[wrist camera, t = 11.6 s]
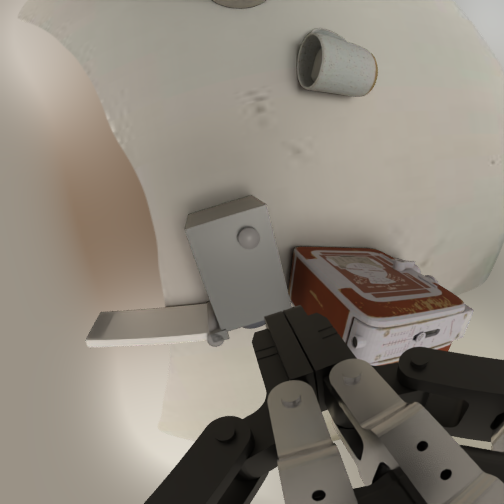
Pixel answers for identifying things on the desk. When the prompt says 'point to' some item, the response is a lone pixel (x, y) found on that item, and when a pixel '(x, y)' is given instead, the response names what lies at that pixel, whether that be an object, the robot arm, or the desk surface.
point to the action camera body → (238, 264)
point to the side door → (153, 326)
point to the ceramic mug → (335, 65)
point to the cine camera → (376, 301)
